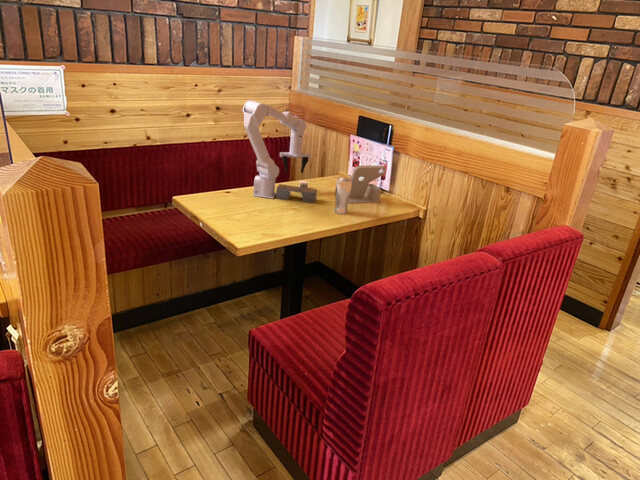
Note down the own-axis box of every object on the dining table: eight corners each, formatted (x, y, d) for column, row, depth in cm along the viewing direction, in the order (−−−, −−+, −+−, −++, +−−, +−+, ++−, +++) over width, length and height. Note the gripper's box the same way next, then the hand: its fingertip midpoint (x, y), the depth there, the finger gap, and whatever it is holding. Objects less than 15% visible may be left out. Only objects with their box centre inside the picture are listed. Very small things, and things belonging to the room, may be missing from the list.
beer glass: (348, 210, 224) (352, 178, 218) (348, 215, 217) (352, 182, 211) (333, 208, 224) (337, 176, 218) (332, 213, 218) (336, 180, 212)
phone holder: (372, 195, 247) (377, 160, 240) (381, 202, 239) (387, 166, 231) (340, 196, 241) (345, 160, 233) (349, 203, 232) (354, 166, 225)
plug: (300, 196, 235) (301, 189, 234) (298, 187, 248) (299, 180, 247) (308, 196, 236) (309, 189, 235) (306, 187, 249) (307, 181, 247)
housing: (275, 198, 229) (276, 187, 227) (278, 194, 235) (279, 184, 233) (314, 203, 227) (315, 193, 225) (316, 199, 233) (317, 189, 231)
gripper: (282, 145, 227) (280, 174, 232) (312, 147, 230) (310, 175, 236) (280, 142, 233) (278, 169, 239) (310, 143, 237) (307, 171, 242)
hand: (293, 172), depth 238 cm, fingers open, 7 cm apart
